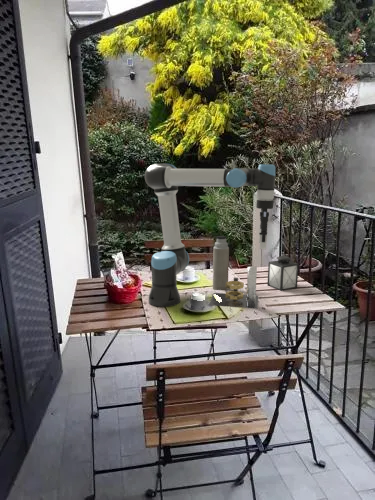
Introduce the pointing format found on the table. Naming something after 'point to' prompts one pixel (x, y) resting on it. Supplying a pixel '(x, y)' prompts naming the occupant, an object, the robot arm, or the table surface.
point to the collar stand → (233, 296)
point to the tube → (251, 286)
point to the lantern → (282, 273)
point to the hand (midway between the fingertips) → (262, 246)
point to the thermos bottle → (220, 263)
